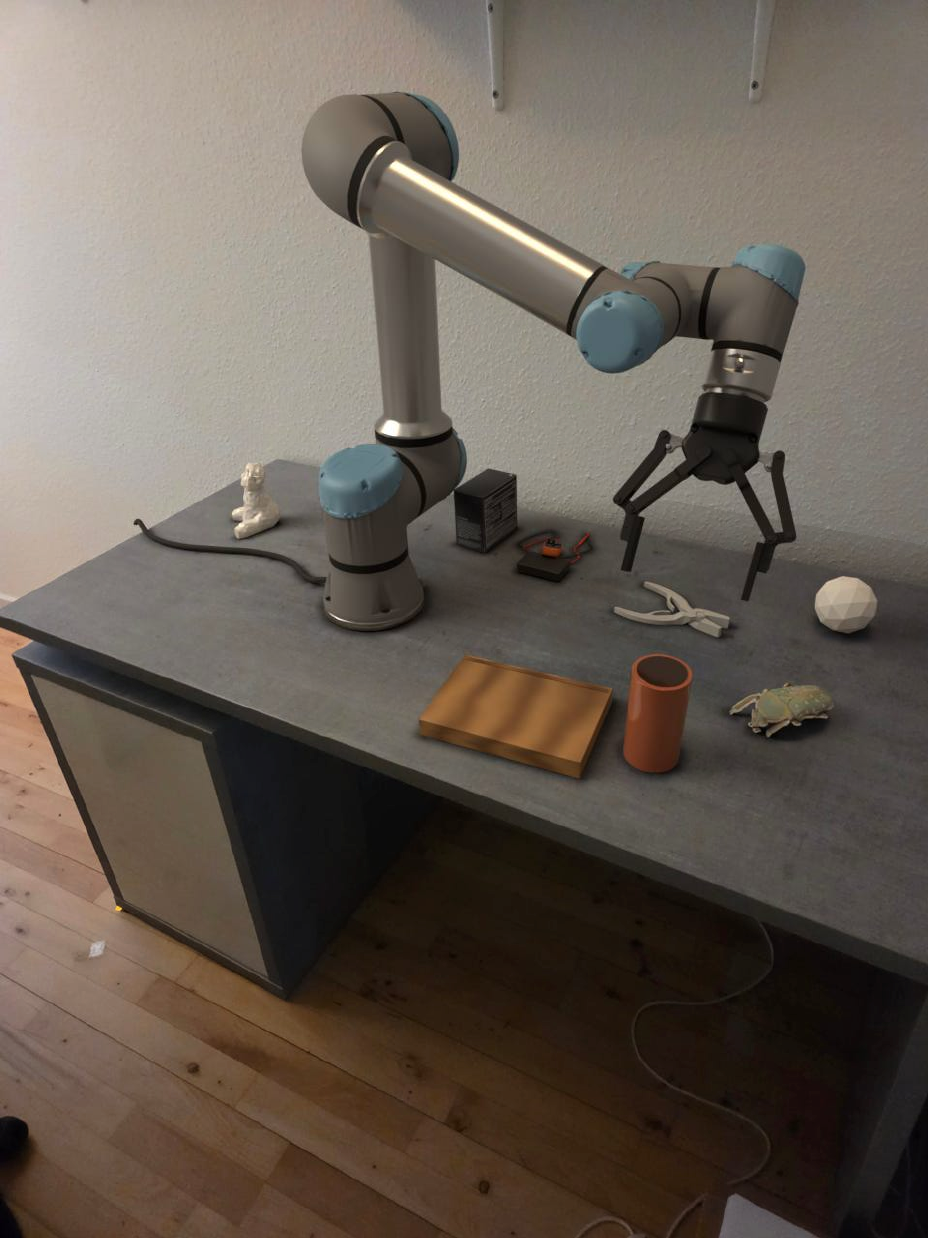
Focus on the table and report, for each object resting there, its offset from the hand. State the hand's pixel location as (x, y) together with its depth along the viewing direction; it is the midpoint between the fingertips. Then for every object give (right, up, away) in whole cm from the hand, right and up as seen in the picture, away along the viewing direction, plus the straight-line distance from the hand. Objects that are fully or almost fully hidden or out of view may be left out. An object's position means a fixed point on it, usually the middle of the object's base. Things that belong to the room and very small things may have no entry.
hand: (683, 585), depth 90 cm
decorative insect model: (+13, -16, +7) cm, 22 cm away
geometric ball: (+28, -5, +22) cm, 36 cm away
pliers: (+6, -3, +26) cm, 27 cm away
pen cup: (-3, -19, +2) cm, 20 cm away
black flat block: (-10, +7, +43) cm, 45 cm away
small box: (-21, +10, +48) cm, 53 cm away
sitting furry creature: (-63, +13, +54) cm, 84 cm away
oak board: (-18, -16, +8) cm, 26 cm away
